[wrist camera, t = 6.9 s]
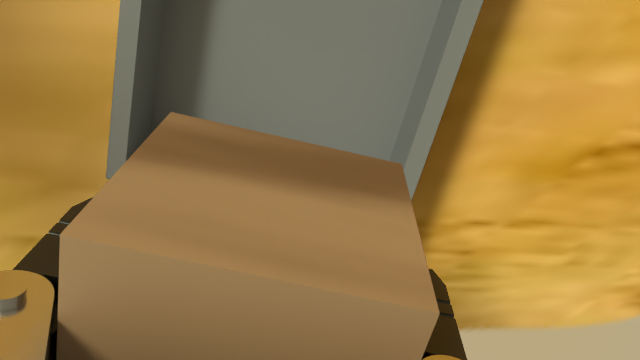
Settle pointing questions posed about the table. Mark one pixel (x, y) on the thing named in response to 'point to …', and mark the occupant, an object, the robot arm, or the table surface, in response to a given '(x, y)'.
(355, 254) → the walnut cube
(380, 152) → the tote
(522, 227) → the table surface
